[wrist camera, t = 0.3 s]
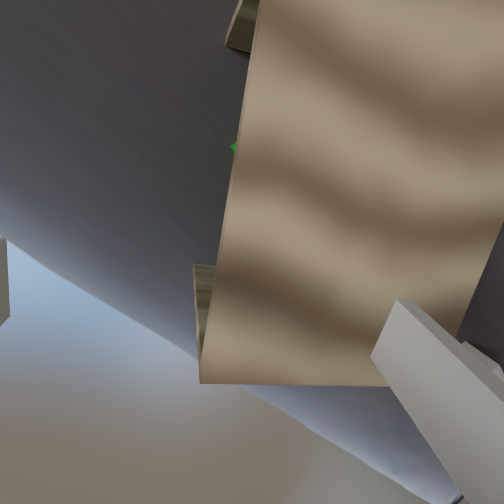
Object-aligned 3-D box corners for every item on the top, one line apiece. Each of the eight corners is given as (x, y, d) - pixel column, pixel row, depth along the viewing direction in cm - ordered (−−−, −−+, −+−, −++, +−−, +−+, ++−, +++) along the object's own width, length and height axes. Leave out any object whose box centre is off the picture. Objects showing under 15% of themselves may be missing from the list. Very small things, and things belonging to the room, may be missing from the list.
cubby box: (226, 34, 31) (283, -122, 13) (385, 80, 35) (591, 11, 17) (192, 271, 38) (199, 383, 20) (328, 284, 42) (434, 387, 24)
